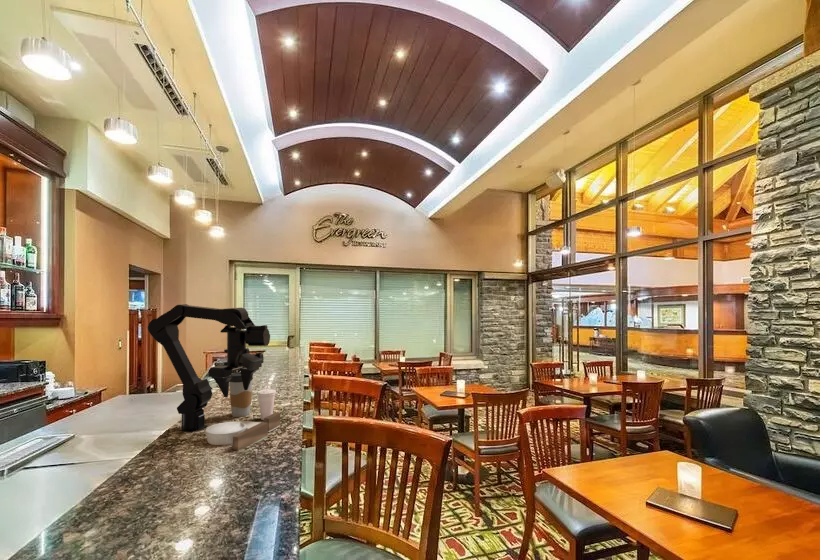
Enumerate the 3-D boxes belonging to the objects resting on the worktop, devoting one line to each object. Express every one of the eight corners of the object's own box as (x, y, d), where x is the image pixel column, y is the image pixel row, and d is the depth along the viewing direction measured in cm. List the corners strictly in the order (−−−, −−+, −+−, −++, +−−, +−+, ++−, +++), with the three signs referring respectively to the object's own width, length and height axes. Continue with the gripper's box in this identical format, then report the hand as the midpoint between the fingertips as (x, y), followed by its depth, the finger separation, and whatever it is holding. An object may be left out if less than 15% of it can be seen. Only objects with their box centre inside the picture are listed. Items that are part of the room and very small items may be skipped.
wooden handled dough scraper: (193, 446, 121) (193, 431, 121) (226, 431, 133) (226, 417, 133) (238, 452, 116) (238, 437, 116) (267, 436, 128) (267, 422, 128)
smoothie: (278, 415, 149) (279, 377, 150) (271, 421, 143) (271, 381, 143) (262, 415, 150) (262, 377, 150) (253, 421, 144) (253, 381, 144)
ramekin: (248, 447, 123) (248, 429, 123) (207, 454, 117) (207, 436, 117) (242, 435, 133) (242, 419, 133) (204, 442, 127) (204, 425, 127)
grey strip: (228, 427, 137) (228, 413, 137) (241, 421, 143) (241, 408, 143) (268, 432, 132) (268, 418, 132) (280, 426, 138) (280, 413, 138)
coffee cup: (247, 409, 157) (247, 370, 157) (256, 414, 151) (256, 373, 151) (224, 414, 151) (225, 373, 151) (233, 419, 145) (234, 377, 146)
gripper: (236, 351, 124) (236, 403, 124) (274, 343, 142) (274, 388, 141) (207, 349, 127) (206, 400, 127) (248, 341, 145) (247, 386, 145)
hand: (236, 393), depth 135 cm, fingers open, 9 cm apart
